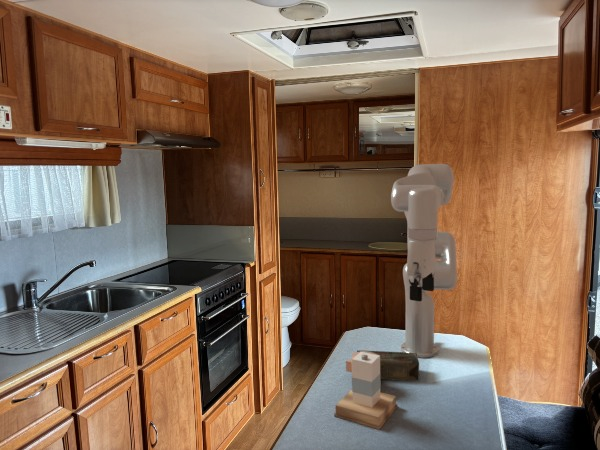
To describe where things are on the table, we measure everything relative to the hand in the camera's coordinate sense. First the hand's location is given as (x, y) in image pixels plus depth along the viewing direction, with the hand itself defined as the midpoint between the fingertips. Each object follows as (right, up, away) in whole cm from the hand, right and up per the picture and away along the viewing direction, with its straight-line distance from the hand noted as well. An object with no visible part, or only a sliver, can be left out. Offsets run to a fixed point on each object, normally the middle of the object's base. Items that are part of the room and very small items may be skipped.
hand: (422, 295), depth 130 cm
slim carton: (-16, -27, -5) cm, 32 cm away
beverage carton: (-7, -27, +17) cm, 33 cm away
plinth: (-16, -30, -4) cm, 34 cm away
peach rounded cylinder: (-15, -28, +10) cm, 34 cm away
